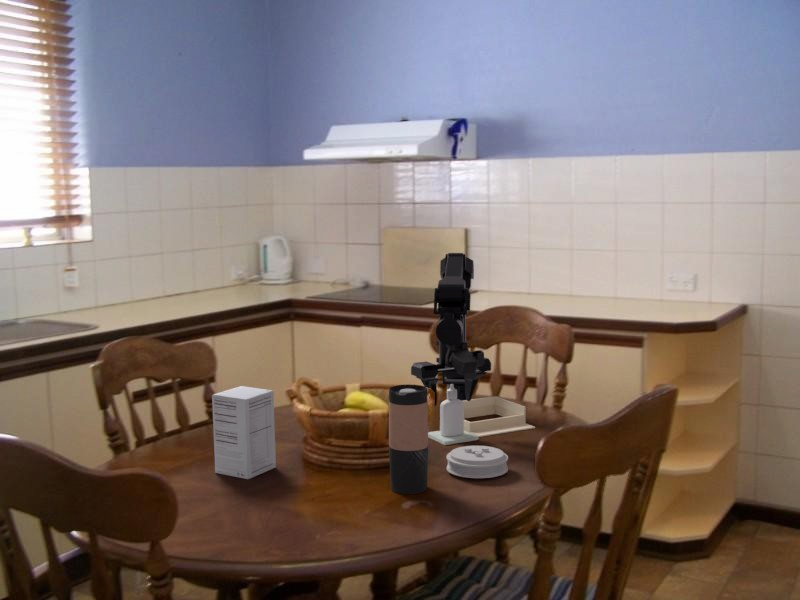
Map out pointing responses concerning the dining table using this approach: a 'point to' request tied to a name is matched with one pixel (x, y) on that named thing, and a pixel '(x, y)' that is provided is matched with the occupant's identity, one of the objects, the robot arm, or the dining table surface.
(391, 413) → the travel mug
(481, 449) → the lid
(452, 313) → the robot arm
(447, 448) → the dining table surface
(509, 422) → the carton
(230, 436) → the supplement box
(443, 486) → the dining table surface
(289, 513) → the dining table surface
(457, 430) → the eye dropper bottle
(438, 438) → the coaster
